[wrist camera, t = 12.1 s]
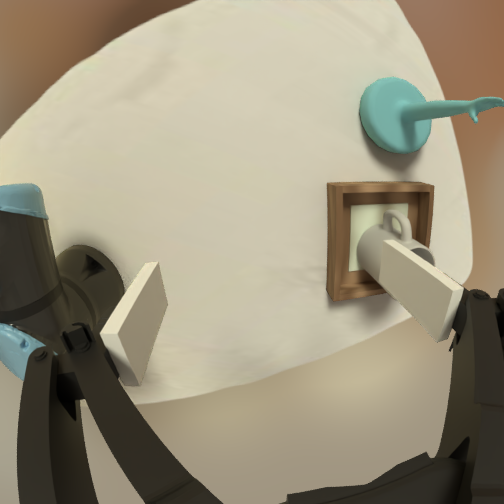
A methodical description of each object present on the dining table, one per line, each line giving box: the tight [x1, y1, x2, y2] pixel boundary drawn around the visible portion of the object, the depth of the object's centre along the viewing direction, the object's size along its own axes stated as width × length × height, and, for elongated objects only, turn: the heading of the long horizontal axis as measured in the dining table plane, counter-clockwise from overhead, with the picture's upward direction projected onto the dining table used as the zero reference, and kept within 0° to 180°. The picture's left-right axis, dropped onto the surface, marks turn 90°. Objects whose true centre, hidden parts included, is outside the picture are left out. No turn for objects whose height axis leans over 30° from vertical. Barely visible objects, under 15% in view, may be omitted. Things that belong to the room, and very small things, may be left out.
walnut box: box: [326, 182, 434, 302], centre depth 41 cm, size 18×18×4 cm
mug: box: [357, 209, 435, 301], centre depth 37 cm, size 12×8×11 cm
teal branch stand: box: [359, 77, 504, 154], centre depth 24 cm, size 13×12×25 cm
